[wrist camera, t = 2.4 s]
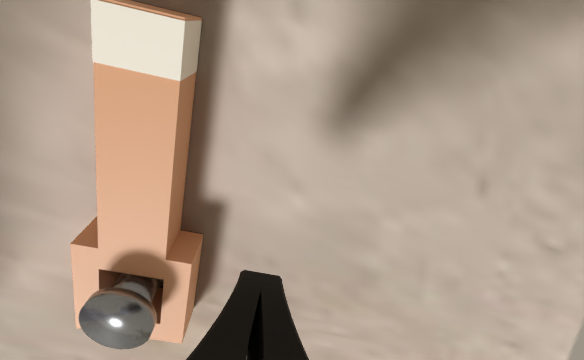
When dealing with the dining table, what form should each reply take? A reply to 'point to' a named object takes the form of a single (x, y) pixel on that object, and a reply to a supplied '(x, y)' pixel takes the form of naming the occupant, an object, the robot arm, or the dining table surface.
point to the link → (142, 159)
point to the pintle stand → (121, 312)
